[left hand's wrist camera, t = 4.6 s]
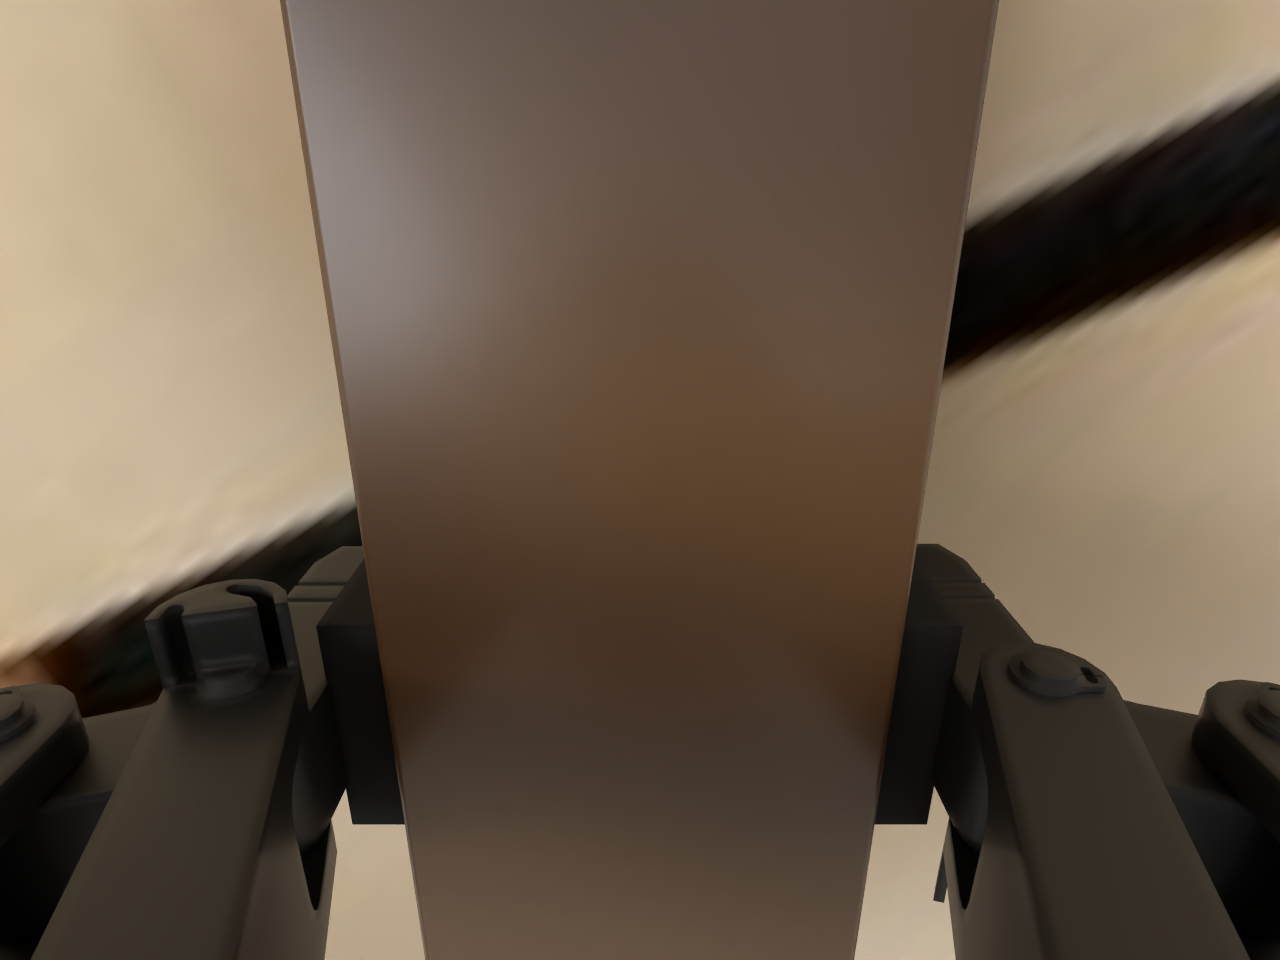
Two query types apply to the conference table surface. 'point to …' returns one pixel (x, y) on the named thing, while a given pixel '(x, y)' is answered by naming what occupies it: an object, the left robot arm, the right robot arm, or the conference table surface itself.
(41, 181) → the conference table surface
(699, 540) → the plank
